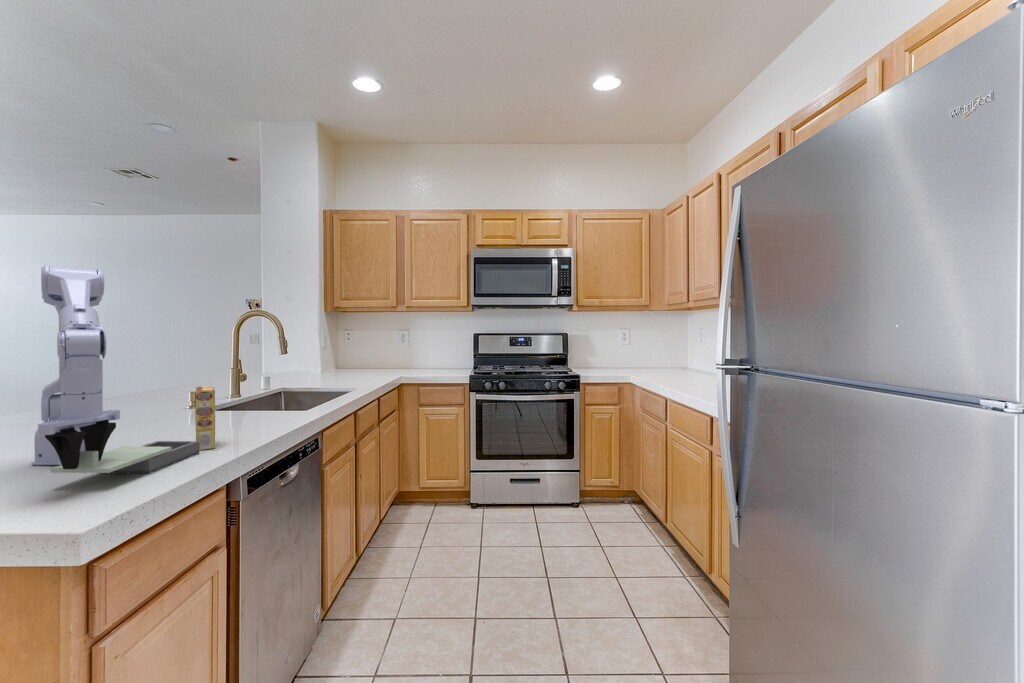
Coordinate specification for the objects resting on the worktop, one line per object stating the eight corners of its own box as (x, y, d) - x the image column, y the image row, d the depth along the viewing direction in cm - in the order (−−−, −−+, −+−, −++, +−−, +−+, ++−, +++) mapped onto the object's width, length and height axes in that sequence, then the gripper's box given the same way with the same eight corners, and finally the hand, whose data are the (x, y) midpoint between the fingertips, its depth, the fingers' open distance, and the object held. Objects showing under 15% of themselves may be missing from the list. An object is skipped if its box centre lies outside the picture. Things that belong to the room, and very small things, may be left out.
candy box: (215, 449, 116) (215, 389, 116) (194, 451, 114) (195, 390, 113) (215, 441, 123) (215, 385, 123) (196, 443, 121) (196, 386, 121)
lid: (50, 472, 85) (50, 452, 85) (123, 450, 101) (123, 433, 101) (108, 472, 85) (108, 452, 85) (171, 450, 102) (171, 433, 102)
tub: (100, 473, 95) (100, 459, 95) (157, 453, 111) (157, 440, 111) (148, 473, 95) (148, 459, 95) (199, 453, 111) (199, 441, 111)
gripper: (67, 398, 78) (67, 477, 79) (135, 388, 93) (135, 454, 93) (25, 398, 78) (25, 476, 78) (99, 388, 93) (99, 454, 93)
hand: (82, 464), depth 86 cm, fingers open, 4 cm apart
